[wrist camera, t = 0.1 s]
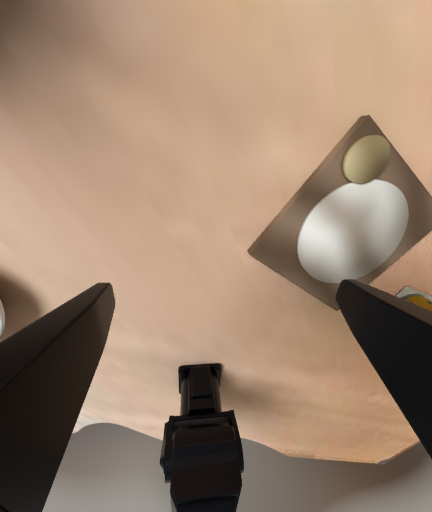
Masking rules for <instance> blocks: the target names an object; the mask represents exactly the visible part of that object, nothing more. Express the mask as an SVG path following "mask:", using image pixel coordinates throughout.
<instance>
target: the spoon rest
mask: <svg viewBox="0 0 432 512" xmlns="http://www.w3.org/2000/svg"><path fill="white" fill-rule="evenodd" d="M4 327H5V311H4V307H3V305H2V302H1V300H0V336H1V334H2V332H3V330H4Z"/></svg>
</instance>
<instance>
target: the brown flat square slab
mask: <svg viewBox="0 0 432 512" xmlns="http://www.w3.org/2000/svg"><path fill="white" fill-rule="evenodd" d="M430 231H432V196H431V195H430V194H429V192H428V191H427V190H426V188H425V187H424V186H423V185H422V183H421V182H420V181H419V179H418V178H417V177H416V175H415V174H414V173H413V172H412V170H411V169H410V168H409V166H408V165H407V164H406V162H405V161H404V160H403V158H402V157H401V156H400V155H399V153H398V152H397V151H396V149H395V148H394V147H393V145H392V144H391V143H390V141H389V140H388V139H387V138H386V136H385V135H384V134H383V132H382V131H381V130H380V128H379V127H378V126H377V124H376V123H375V122H374V121H373V119H372V118H371V117H370V115H367V116H361V117H360V118H359V119H358V121H357V122H356V123H355V124H354V125H353V126H352V128H351V129H350V130H349V131H348V132H347V133H346V135H345V136H344V137H343V138H342V139H341V141H340V142H339V143H338V144H337V145H336V146H335V148H334V149H333V150H332V151H331V152H330V154H329V155H328V156H327V157H326V158H325V159H324V161H323V162H322V163H321V164H320V165H319V166H318V168H317V169H316V170H315V171H314V172H313V174H312V175H311V176H310V177H309V178H308V179H307V181H306V182H305V183H304V184H303V185H302V187H301V188H300V189H299V190H298V191H297V192H296V194H295V195H294V196H293V197H292V198H291V200H290V201H289V202H288V203H287V204H286V205H285V207H284V208H283V209H282V210H281V211H280V212H279V214H278V215H277V216H276V217H275V218H274V220H273V221H272V222H271V223H270V224H269V225H268V227H267V228H266V229H265V230H264V231H263V233H262V234H261V235H260V236H259V237H258V238H257V240H256V241H255V242H254V243H253V244H252V245H251V247H250V248H249V249H248V250H247V251H248V253H249V255H251V256H252V257H254V258H255V259H257V260H259V261H260V262H262V263H263V264H265V265H266V266H268V267H269V268H271V269H273V270H274V271H276V272H277V273H279V274H280V275H282V276H283V277H285V278H287V279H288V280H290V281H291V282H293V283H294V284H296V285H297V286H299V287H301V288H302V289H304V290H305V291H307V292H308V293H310V294H311V295H313V296H314V297H316V298H318V299H319V300H321V301H322V302H324V303H325V304H327V305H328V306H330V307H332V308H333V309H335V310H336V311H338V310H339V309H340V308H339V306H338V304H337V302H336V299H335V295H336V292H337V290H338V287H339V285H340V282H341V281H342V280H344V279H354V280H357V281H359V282H362V283H364V284H367V285H368V284H369V283H371V282H372V281H373V280H374V279H375V278H376V277H378V276H379V275H380V274H381V273H382V272H384V271H385V270H386V269H387V268H388V267H389V266H391V265H392V264H393V263H394V262H395V261H396V260H398V259H399V258H400V257H401V256H402V255H403V254H405V253H406V252H407V251H408V250H409V249H411V248H412V247H413V246H414V245H415V244H416V243H418V242H419V241H420V240H421V239H422V238H423V237H425V236H426V235H427V234H428V233H429V232H430Z"/></svg>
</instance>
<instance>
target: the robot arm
mask: <svg viewBox="0 0 432 512" xmlns="http://www.w3.org/2000/svg"><path fill="white" fill-rule="evenodd" d="M335 299H336V302H337V304H338V306H339V308H340V310H341V312H342V314H343V316H344V318H345V320H346V322H347V324H348V326H349V328H350V330H351V331H352V333H353V335H354V337H355V338H356V340H357V342H358V343H359V345H360V346H361V348H362V349H363V351H364V353H365V354H366V356H367V357H368V359H369V361H370V362H371V364H372V365H373V367H374V368H375V370H376V372H377V373H378V375H379V376H380V378H381V380H382V381H383V383H384V384H385V386H386V387H387V389H388V391H389V392H390V394H391V395H392V397H393V398H394V400H395V402H396V403H397V405H398V406H399V408H400V410H401V411H402V413H403V414H404V416H405V417H406V419H407V421H408V422H409V424H410V425H411V427H412V429H413V430H414V432H415V433H416V435H417V436H418V438H419V440H420V441H421V443H422V444H423V446H424V448H425V449H426V451H427V452H428V454H429V455H430V457H431V459H432V311H430V310H428V309H425V308H423V307H420V306H418V305H416V304H413V303H411V302H408V301H406V300H403V299H401V298H398V297H396V296H394V295H391V294H389V293H386V292H384V291H381V290H379V289H376V288H374V287H372V286H369V285H367V284H364V283H362V282H359V281H357V280H354V279H344V280H342V281H341V282H340V285H339V287H338V290H337V292H336V295H335ZM114 309H115V298H114V293H113V288H112V285H111V284H110V283H97V284H95V285H94V286H92V287H90V288H89V289H87V290H86V291H84V292H82V293H81V294H79V295H77V296H76V297H74V298H72V299H71V300H69V301H67V302H66V303H64V304H63V305H61V306H59V307H58V308H56V309H54V310H53V311H51V312H49V313H48V314H46V315H44V316H43V317H41V318H39V319H38V320H36V321H34V322H33V323H31V324H30V325H28V326H26V327H25V328H23V329H21V330H20V331H18V332H16V333H15V334H13V335H11V336H10V337H8V338H6V339H5V340H3V341H2V342H0V512H42V510H43V508H44V505H45V502H46V500H47V497H48V495H49V492H50V489H51V487H52V484H53V481H54V479H55V476H56V473H57V471H58V468H59V466H60V463H61V460H62V458H63V455H64V453H65V450H66V447H67V445H68V442H69V439H70V437H71V434H72V432H73V429H74V426H75V424H76V421H77V418H78V416H79V413H80V411H81V408H82V405H83V403H84V400H85V397H86V395H87V392H88V390H89V387H90V384H91V382H92V379H93V376H94V374H95V371H96V369H97V366H98V363H99V361H100V358H101V355H102V353H103V350H104V347H105V344H106V340H107V336H108V332H109V328H110V325H111V321H112V317H113V313H114ZM178 374H179V393H180V394H181V412H180V416H174V415H173V416H170V417H169V421H168V422H167V423H165V428H164V438H163V445H162V451H161V457H160V465H161V467H162V468H163V470H164V474H165V483H171V488H170V493H171V505H172V512H236V508H237V504H238V500H239V496H240V491H241V487H242V479H241V473H243V471H244V461H243V451H242V444H241V439H240V435H239V431H238V427H237V422H236V418H235V414H234V410H230V411H225V412H222V410H221V401H220V393H219V385H220V376H221V365H220V364H207V365H192V366H180V367H179V368H178Z"/></svg>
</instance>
